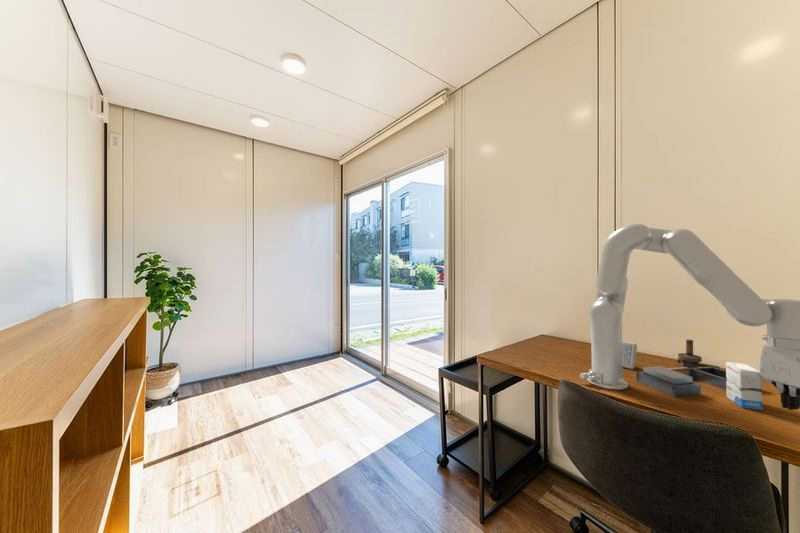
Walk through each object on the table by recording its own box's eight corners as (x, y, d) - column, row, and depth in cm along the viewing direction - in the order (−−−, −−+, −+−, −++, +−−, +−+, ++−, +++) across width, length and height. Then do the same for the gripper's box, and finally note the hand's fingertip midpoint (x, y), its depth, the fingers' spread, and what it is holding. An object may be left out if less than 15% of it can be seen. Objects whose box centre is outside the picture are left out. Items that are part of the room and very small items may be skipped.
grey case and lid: (674, 397, 100) (674, 380, 99) (636, 380, 113) (636, 366, 113) (758, 390, 104) (758, 374, 103) (711, 375, 117) (711, 361, 117)
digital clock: (590, 360, 138) (589, 337, 138) (602, 357, 142) (602, 335, 141) (628, 371, 123) (628, 346, 123) (641, 368, 127) (641, 343, 127)
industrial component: (678, 369, 125) (678, 340, 125) (675, 364, 131) (675, 336, 131) (710, 373, 119) (710, 343, 119) (706, 368, 125) (705, 339, 125)
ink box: (763, 411, 90) (763, 372, 90) (740, 407, 92) (740, 369, 92) (746, 399, 97) (745, 363, 97) (725, 396, 100) (725, 361, 99)
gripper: (743, 338, 91) (745, 398, 91) (817, 351, 76) (820, 423, 76) (764, 336, 92) (766, 395, 92) (841, 349, 77) (843, 420, 77)
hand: (790, 408), depth 84 cm, fingers closed
